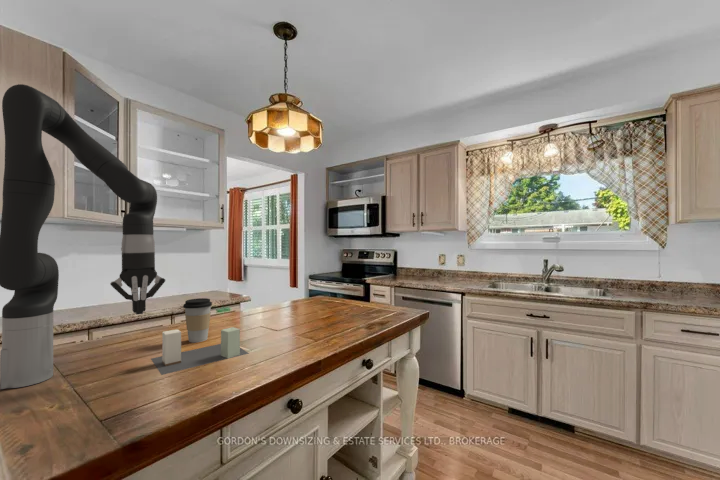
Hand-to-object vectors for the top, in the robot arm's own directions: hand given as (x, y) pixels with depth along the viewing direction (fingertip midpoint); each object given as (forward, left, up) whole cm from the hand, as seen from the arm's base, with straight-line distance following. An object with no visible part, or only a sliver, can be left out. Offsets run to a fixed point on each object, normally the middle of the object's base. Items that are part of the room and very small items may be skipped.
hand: (139, 313), depth 88 cm
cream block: (+8, 0, -16) cm, 17 cm away
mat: (+16, 0, -16) cm, 23 cm away
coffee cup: (+20, +18, -16) cm, 31 cm away
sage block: (+23, -5, -16) cm, 28 cm away
